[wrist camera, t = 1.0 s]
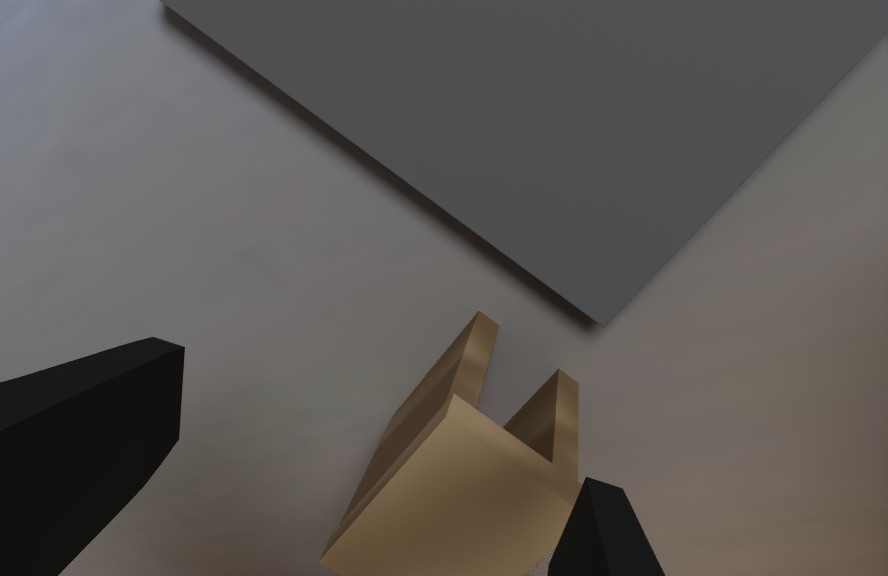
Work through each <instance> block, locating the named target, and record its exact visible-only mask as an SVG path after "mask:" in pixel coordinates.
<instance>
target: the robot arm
mask: <svg viewBox="0 0 888 576" xmlns="http://www.w3.org/2000/svg"><path fill="white" fill-rule="evenodd" d="M184 352H185V347H183V346H180V345H177V344H173V343H170V342H167V341H164V340H161V339H158V338H155V337H151V338H147V339H143V340H139V341H135V342H132V343H128V344H125V345H122V346H118V347H115V348H112V349H108V350H105V351H102V352H99V353H96V354H93V355H89V356H86V357H83V358H80V359H77V360H74V361H70V362H67V363H64V364H61V365H57V366H54V367H51V368H48V369H45V370H41V371H38V372H35V373H32V374H29V375H25V376H22V377H19V378H15V379H11V380H8V381H4V382H0V576H58V575H59V574H60V573H61V572H62V571H63V570H64V569H65V568H66V567H67V566H68V565H69V564H70V563H71V562H72V560H73V559H74V558H75V557H76V556H77V555H78V554H79V553H80V552H81V551H82V550H83V549H84V548H85V547H86V546H87V545H88V544H89V543H90V542H91V541H92V540H93V539H94V538H95V537H96V536H97V535H98V534H99V533H100V532H101V531H102V530H103V529H104V528H105V527H106V526H107V525H108V524H109V523H110V521H111V520H112V519H113V518H114V517H115V516H116V515H117V514H118V513H119V512H120V511H121V510H122V509H123V508H124V507H125V506H126V505H127V504H128V503H129V502H130V501H131V500H132V498H133V497H134V496H135V495H136V494H137V493H138V492H139V491H140V490H141V489H142V488H143V487H144V485H145V484H146V483H147V482H148V480H149V479H150V478H151V476H152V475H153V474H154V473H155V471H156V470H157V469H158V467H159V466H160V465H161V463H162V462H163V461H164V459H165V458H166V456H167V455H168V454H169V452H170V451H171V450H172V448H173V447H174V445H175V444H176V443H177V441H178V440H179V430H180V415H181V399H182V384H183V368H184ZM548 576H665V574H664V572H663V570H662V568H661V566H660V564H659V562H658V560H657V558H656V556H655V554H654V552H653V550H652V548H651V546H650V544H649V542H648V540H647V538H646V536H645V534H644V531H643V529H642V527H641V525H640V523H639V521H638V519H637V517H636V515H635V513H634V511H633V508H632V506H631V504H630V502H629V500H628V498H627V496H626V494H625V492H624V490H623V489H622V488H619V487H616V486H613V485H610V484H607V483H604V482H601V481H598V480H595V479H591V478H588V477H586V478H585V481H584V483H583V485H582V488H581V490H580V492H579V495H578V497H577V500H576V502H575V504H574V507H573V509H572V511H571V514H570V516H569V518H568V521H567V523H566V526H565V528H564V530H563V533H562V535H561V537H560V540H559V542H558V544H557V547H556V549H555V552H554V554H553V556H552V559H551V561H550V563H549V569H548Z"/></svg>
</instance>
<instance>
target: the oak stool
mask: <svg viewBox="0 0 888 576" xmlns="http://www.w3.org/2000/svg"><path fill="white" fill-rule="evenodd" d="M498 328H499V325H498V324H496V323H495V322H493V321H492V320H491V319H489V318H488V317H487V316H485V315H484V314H482V313H481V312H480V311H479V312H478V313H477V314H476V315H475V316H474V318H473V319H472V320H471V321H470V322H469V324H468V325H467V326H466V327H465V329H464V330H463V331H462V332H461V333H460V335H459V336H458V337H457V338H456V340H455V341H454V342H453V343H452V344H451V346H450V347H449V348H448V349H447V350H446V352H445V353H444V354H443V355H442V357H441V358H440V359H439V360H438V361H437V363H436V364H435V365H434V366H433V368H432V369H431V370H430V371H429V372H428V374H427V375H426V376H425V377H424V379H423V380H422V381H421V382H420V383H419V385H418V386H417V387H416V388H415V389H414V391H413V392H412V393H411V394H410V396H409V397H408V398H407V399H406V400H405V402H404V403H403V404H402V405H401V407H400V408H399V409H398V410H397V411H396V413H395V414H394V416H393V418H392V420H391V422H390V424H389V426H388V428H387V430H386V432H385V434H384V436H383V438H382V440H381V442H380V444H379V446H378V448H377V450H376V452H375V454H374V456H373V458H372V460H371V462H370V464H369V466H368V469H367V471H366V473H365V475H364V477H363V479H362V481H361V483H360V485H359V487H358V489H357V491H356V493H355V495H354V497H353V499H352V501H351V503H350V505H349V507H348V509H347V511H346V513H345V515H344V517H343V519H342V521H341V524H340V526H339V527H338V528H337V529H336V530H335V531H334V533H333V534H332V536H331V538H330V540H329V542H328V544H327V546H326V548H325V550H324V552H323V554H322V556H321V558H320V560H319V563H321V564H322V565H324V566H325V567H327V568H328V569H330V570H331V571H333V572H334V573H336V574H337V575H338V576H523V575H524V574H525V573H527V572H528V571H529V570H530V569H531V568H532V567H534V566H535V565H536V564H537V563H538V562H539V561H540V560H542V559H543V558H544V557H545V556H546V555H547V554H549V553H550V552H551V551H552V550H553V549H554V548H555V547H557V544H558V542H559V540H560V537H561V535H562V533H563V530H564V528H565V526H566V523H567V521H568V518H569V516H570V514H571V511H572V509H573V507H574V504H575V502H576V500H577V497H578V495H579V492H580V490H581V488H582V484H580V483H579V482H578V383H577V382H576V381H575V380H573V379H572V378H571V377H569V376H568V375H566V374H565V373H564V372H562V371H561V370H560V369H558V370H557V371H556V372H555V373H554V374H553V375H552V376H551V378H550V379H549V380H548V381H547V382H546V383H545V384H544V385H543V386H542V387H541V388H540V389H539V390H538V391H537V392H536V393H535V394H534V395H533V396H532V398H531V399H530V400H529V401H528V402H527V403H526V404H525V405H524V406H523V407H522V408H521V409H520V410H519V411H518V412H517V413H516V414H515V415H514V416H513V418H512V419H511V420H510V421H509V422H508V423H507V424H506V425H505V426H504V427H503V428H502V427H500V426H499V425H498V424H496V423H495V422H493V421H492V420H491V419H489V418H488V417H486V416H485V415H484V414H482V413H481V412H479V411H478V410H477V409H476V406H477V402H478V399H479V395H480V392H481V388H482V385H483V381H484V377H485V374H486V370H487V367H488V363H489V360H490V356H491V352H492V349H493V345H494V342H495V338H496V335H497V331H498Z"/></svg>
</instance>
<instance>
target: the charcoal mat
mask: <svg viewBox="0 0 888 576" xmlns="http://www.w3.org/2000/svg"><path fill="white" fill-rule="evenodd" d="M160 1H161V2H162V3H164V4H165V5H167V6H168V7H169V8H171V9H172V10H173V11H175V12H176V13H177V14H179V15H180V16H181V17H183V18H184V19H186V20H187V21H188V22H190V23H191V24H192V25H194V26H195V27H196V28H198V29H199V30H201V31H202V32H203V33H205V34H206V35H207V36H209V37H210V38H211V39H213V40H214V41H215V42H217V43H218V44H220V45H221V46H222V47H224V48H225V49H226V50H228V51H229V52H230V53H232V54H233V55H234V56H236V57H237V58H239V59H240V60H241V61H243V62H244V63H245V64H247V65H248V66H249V67H251V68H252V69H254V70H255V71H256V72H258V73H259V74H260V75H262V76H263V77H264V78H266V79H267V80H268V81H270V82H271V83H273V84H274V85H275V86H277V87H278V88H279V89H281V90H282V91H283V92H285V93H286V94H287V95H289V96H290V97H292V98H293V99H294V100H296V101H297V102H298V103H300V104H301V105H302V106H304V107H305V108H307V109H308V110H309V111H311V112H312V113H313V114H315V115H316V116H317V117H319V118H320V119H321V120H323V121H324V122H326V123H327V124H328V125H330V126H331V127H332V128H334V129H335V130H336V131H338V132H339V133H340V134H342V135H343V136H345V137H346V138H347V139H349V140H350V141H351V142H353V143H354V144H355V145H357V146H358V147H360V148H361V149H362V150H364V151H365V152H366V153H368V154H369V155H370V156H372V157H373V158H374V159H376V160H377V161H379V162H380V163H381V164H383V165H384V166H385V167H387V168H388V169H389V170H391V171H392V172H393V173H395V174H396V175H398V176H399V177H400V178H402V179H403V180H404V181H406V182H407V183H408V184H410V185H411V186H413V187H414V188H415V189H417V190H418V191H419V192H421V193H422V194H423V195H425V196H426V197H427V198H429V199H430V200H432V201H433V202H434V203H436V204H437V205H438V206H440V207H441V208H442V209H444V210H445V211H446V212H448V213H449V214H451V215H452V216H453V217H455V218H456V219H457V220H459V221H460V222H461V223H463V224H464V225H466V226H467V227H468V228H470V229H471V230H472V231H474V232H475V233H476V234H478V235H479V236H480V237H482V238H483V239H485V240H486V241H487V242H489V243H490V244H491V245H493V246H494V247H495V248H497V249H498V250H499V251H501V252H502V253H504V254H505V255H506V256H508V257H509V258H510V259H512V260H513V261H514V262H516V263H517V264H519V265H520V266H521V267H523V268H524V269H525V270H527V271H528V272H529V273H531V274H532V275H533V276H535V277H536V278H538V279H539V280H540V281H542V282H543V283H544V284H546V285H547V286H548V287H550V288H551V289H552V290H554V291H555V292H557V293H558V294H559V295H561V296H562V297H563V298H565V299H566V300H567V301H569V302H570V303H572V304H573V305H574V306H576V307H577V308H578V309H580V310H581V311H582V312H584V313H585V314H586V315H588V316H589V317H591V318H592V319H593V320H595V321H596V322H597V323H599V324H600V325H601V326H603V327H605V326H606V325H607V324H608V323H609V322H610V321H611V320H612V319H613V318H614V317H615V316H616V315H617V314H618V313H619V312H620V310H621V309H622V308H623V307H624V306H625V305H626V304H627V303H628V302H629V301H630V300H631V299H632V298H633V297H634V296H635V295H636V294H637V293H638V292H639V291H640V290H641V289H642V287H643V286H644V285H645V284H646V283H647V282H648V281H649V280H650V279H651V278H652V277H653V276H654V275H655V274H656V273H657V272H658V271H659V270H660V269H661V268H662V267H663V266H664V264H665V263H666V262H667V261H668V260H669V259H670V258H671V257H672V256H673V255H674V254H675V253H676V252H677V251H678V250H679V249H680V248H681V247H682V246H683V245H684V244H685V243H686V241H687V240H688V239H689V238H690V237H691V236H692V235H693V234H694V233H695V232H696V231H697V230H698V229H699V228H700V227H701V226H702V225H703V224H704V223H705V222H706V221H707V220H708V218H709V217H710V216H711V215H712V214H713V213H714V212H715V211H716V210H717V209H718V208H719V207H720V206H721V205H722V204H723V203H724V202H725V201H726V200H727V199H728V198H729V196H730V195H731V194H732V193H733V192H734V191H735V190H736V189H737V188H738V187H739V186H740V185H741V184H742V183H743V182H744V181H745V180H746V179H747V178H748V177H749V176H750V175H751V173H752V172H753V171H754V170H755V169H756V168H757V167H758V166H759V165H760V164H761V163H762V162H763V161H764V160H765V159H766V158H767V157H768V156H769V155H770V154H771V153H772V152H773V150H774V149H775V148H776V147H777V146H778V145H779V144H780V143H781V142H782V141H783V140H784V139H785V138H786V137H787V136H788V135H789V134H790V133H791V132H792V131H793V130H794V129H795V127H796V126H797V125H798V124H799V123H800V122H801V121H802V120H803V119H804V118H805V117H806V116H807V115H808V114H809V113H810V112H811V111H812V110H813V109H814V108H815V107H816V106H817V104H818V103H819V102H820V101H821V100H822V99H823V98H824V97H825V96H826V95H827V94H828V93H829V92H830V91H831V90H832V89H833V88H834V87H835V86H836V85H837V84H838V82H839V81H840V80H841V79H842V78H843V77H844V76H845V75H846V74H847V73H848V72H849V71H850V70H851V69H852V68H853V67H854V66H855V65H856V64H857V63H858V62H859V61H860V59H861V58H862V57H863V56H864V55H865V54H866V53H867V52H868V51H869V50H870V49H871V48H872V47H873V46H874V45H875V44H876V43H877V42H878V41H879V40H880V39H881V38H882V36H883V35H884V34H885V33H886V32H887V31H888V0H160Z"/></svg>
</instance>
